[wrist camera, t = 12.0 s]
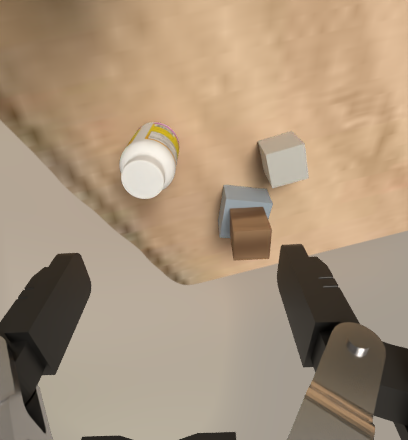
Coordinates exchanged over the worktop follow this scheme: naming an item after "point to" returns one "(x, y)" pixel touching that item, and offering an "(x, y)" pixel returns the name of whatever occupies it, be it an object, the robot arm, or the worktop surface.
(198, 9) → the worktop surface
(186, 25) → the worktop surface
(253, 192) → the base block
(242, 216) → the walnut block
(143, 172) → the supplement bottle
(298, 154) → the grey block
